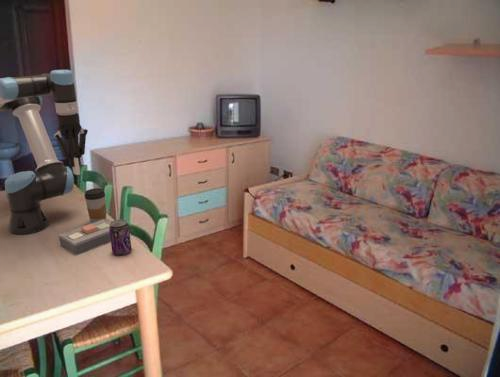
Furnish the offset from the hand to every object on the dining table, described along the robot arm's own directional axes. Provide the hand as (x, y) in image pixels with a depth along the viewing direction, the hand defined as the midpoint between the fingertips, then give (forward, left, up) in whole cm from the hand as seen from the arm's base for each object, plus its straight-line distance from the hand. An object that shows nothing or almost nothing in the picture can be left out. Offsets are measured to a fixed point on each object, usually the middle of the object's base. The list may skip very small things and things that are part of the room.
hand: (76, 173), depth 172 cm
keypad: (+7, -2, -26) cm, 27 cm away
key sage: (+7, +4, -25) cm, 26 cm away
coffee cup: (-6, +9, -27) cm, 29 cm away
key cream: (+7, -7, -25) cm, 27 cm away
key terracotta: (+7, -2, -23) cm, 24 cm away
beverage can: (+24, +1, -27) cm, 36 cm away
